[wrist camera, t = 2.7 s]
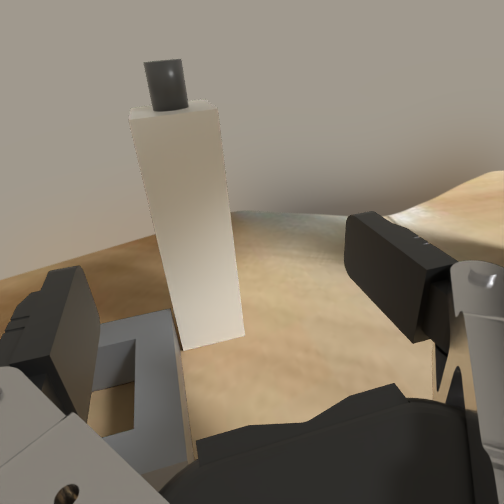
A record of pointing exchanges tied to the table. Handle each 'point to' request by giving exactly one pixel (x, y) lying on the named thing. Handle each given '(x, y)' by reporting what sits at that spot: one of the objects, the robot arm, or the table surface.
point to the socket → (148, 393)
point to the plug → (189, 206)
